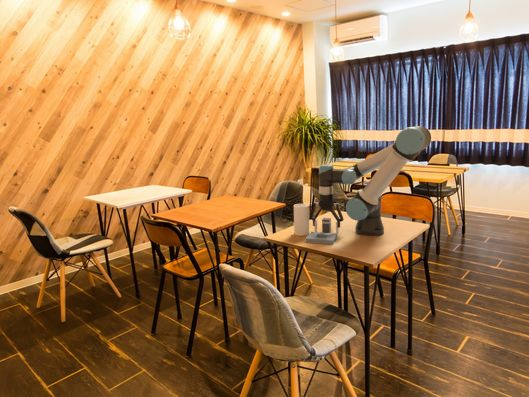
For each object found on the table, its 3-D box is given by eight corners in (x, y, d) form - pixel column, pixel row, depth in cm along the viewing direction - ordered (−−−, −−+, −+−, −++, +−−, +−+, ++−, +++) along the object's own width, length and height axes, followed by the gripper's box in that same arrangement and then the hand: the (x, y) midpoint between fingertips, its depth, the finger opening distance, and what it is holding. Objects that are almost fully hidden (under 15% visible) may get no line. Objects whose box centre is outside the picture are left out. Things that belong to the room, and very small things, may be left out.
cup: (308, 235, 211) (308, 207, 208) (293, 235, 213) (292, 206, 209) (310, 231, 219) (309, 203, 216) (295, 231, 221) (294, 203, 217)
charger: (331, 232, 216) (330, 218, 214) (329, 234, 212) (329, 220, 211) (323, 231, 217) (323, 217, 216) (322, 233, 214) (322, 219, 212)
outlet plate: (337, 237, 207) (337, 233, 206) (332, 244, 196) (332, 240, 195) (311, 235, 212) (311, 231, 211) (305, 242, 201) (305, 238, 200)
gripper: (349, 192, 210) (349, 232, 214) (306, 191, 218) (307, 229, 222) (347, 195, 203) (346, 236, 207) (303, 194, 211) (304, 233, 216)
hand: (326, 232), depth 215 cm, fingers open, 11 cm apart
